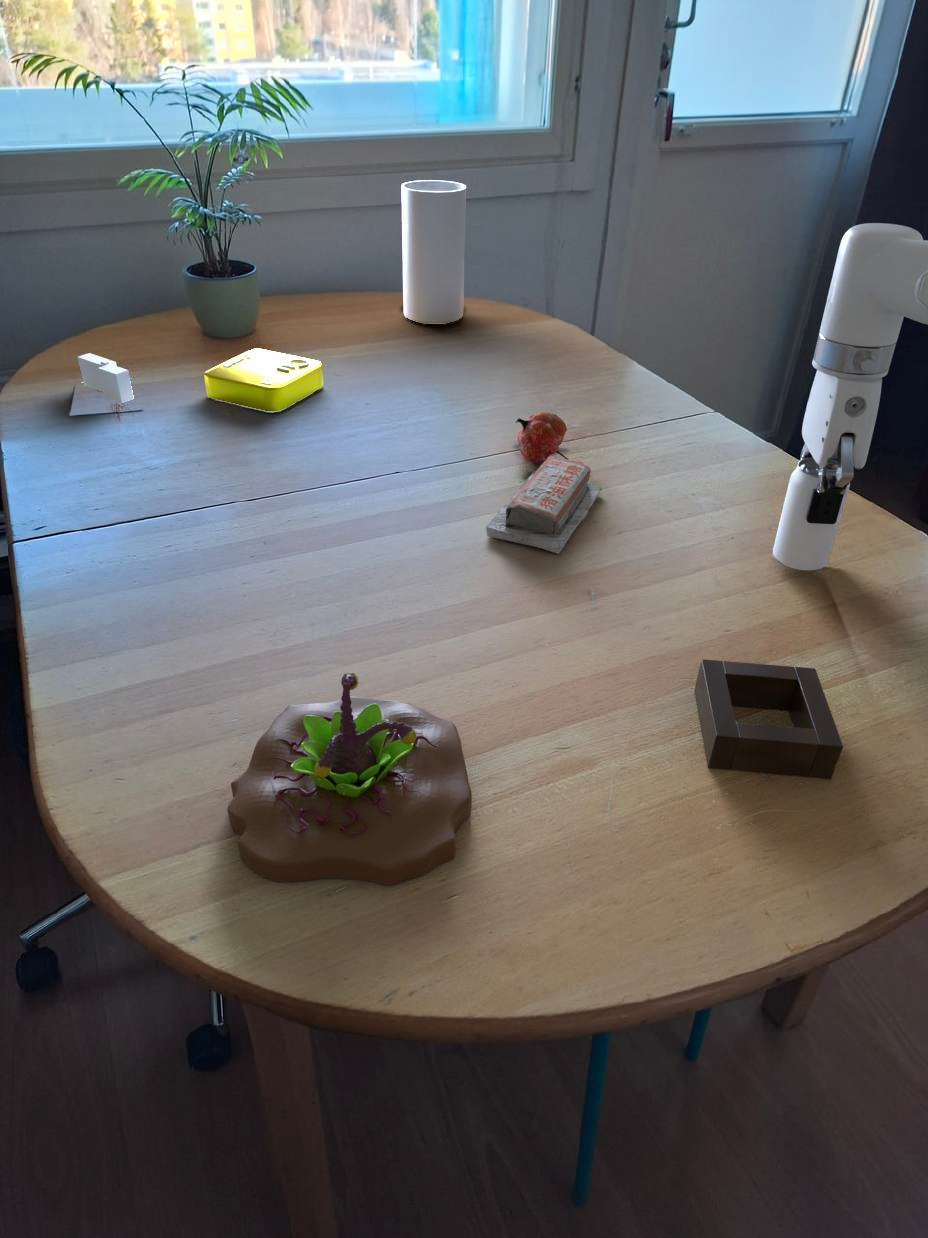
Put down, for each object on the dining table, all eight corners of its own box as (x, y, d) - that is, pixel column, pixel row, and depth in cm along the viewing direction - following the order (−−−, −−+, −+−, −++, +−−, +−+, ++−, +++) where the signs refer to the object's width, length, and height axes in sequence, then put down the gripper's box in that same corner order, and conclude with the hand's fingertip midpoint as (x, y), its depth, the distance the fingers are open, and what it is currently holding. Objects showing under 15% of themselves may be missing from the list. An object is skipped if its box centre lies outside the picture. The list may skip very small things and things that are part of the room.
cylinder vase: (433, 330, 176) (434, 194, 162) (391, 316, 183) (388, 184, 169) (475, 317, 184) (479, 186, 169) (433, 304, 191) (433, 177, 176)
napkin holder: (73, 383, 148) (65, 349, 145) (143, 377, 151) (137, 344, 148) (68, 417, 137) (59, 381, 134) (144, 410, 140) (137, 375, 136)
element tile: (257, 370, 155) (254, 343, 153) (328, 386, 150) (326, 358, 147) (201, 398, 144) (197, 370, 142) (276, 416, 139) (273, 387, 136)
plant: (474, 719, 82) (479, 623, 76) (467, 892, 67) (472, 790, 60) (264, 709, 83) (250, 613, 76) (207, 880, 67) (183, 777, 60)
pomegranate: (555, 461, 133) (505, 420, 130) (588, 431, 129) (537, 388, 126) (549, 488, 128) (497, 446, 125) (583, 457, 123) (530, 412, 120)
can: (762, 548, 107) (783, 457, 100) (811, 543, 108) (834, 453, 101) (787, 575, 102) (811, 481, 95) (838, 570, 103) (865, 477, 96)
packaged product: (536, 448, 120) (605, 462, 117) (533, 480, 123) (601, 494, 120) (486, 503, 107) (563, 521, 104) (484, 538, 110) (559, 556, 107)
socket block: (805, 699, 86) (815, 668, 84) (831, 779, 77) (843, 746, 75) (693, 690, 87) (701, 658, 84) (707, 768, 78) (716, 735, 76)
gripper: (917, 384, 84) (867, 546, 94) (867, 330, 98) (828, 476, 108) (836, 381, 84) (795, 542, 94) (798, 328, 98) (766, 473, 109)
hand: (813, 506), depth 101 cm, fingers closed on can, 6 cm apart
